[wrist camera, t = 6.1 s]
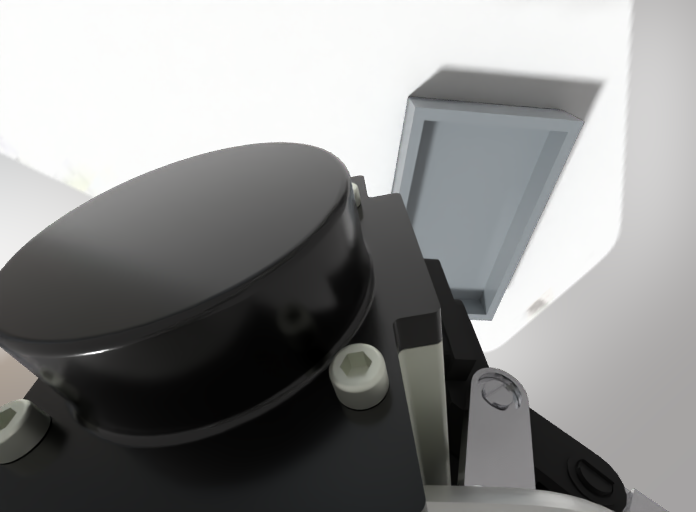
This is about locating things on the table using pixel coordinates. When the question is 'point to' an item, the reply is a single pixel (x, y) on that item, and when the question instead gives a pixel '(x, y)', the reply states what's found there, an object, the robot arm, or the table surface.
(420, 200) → the parts tray
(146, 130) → the table surface
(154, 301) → the pneumatic valve
